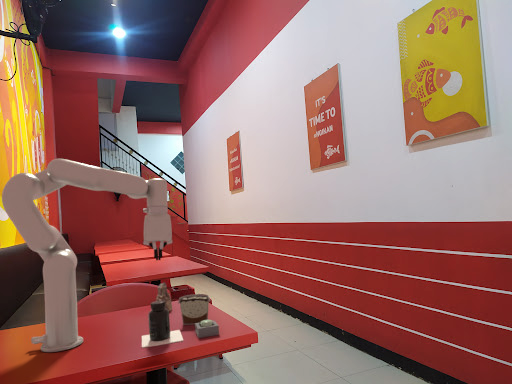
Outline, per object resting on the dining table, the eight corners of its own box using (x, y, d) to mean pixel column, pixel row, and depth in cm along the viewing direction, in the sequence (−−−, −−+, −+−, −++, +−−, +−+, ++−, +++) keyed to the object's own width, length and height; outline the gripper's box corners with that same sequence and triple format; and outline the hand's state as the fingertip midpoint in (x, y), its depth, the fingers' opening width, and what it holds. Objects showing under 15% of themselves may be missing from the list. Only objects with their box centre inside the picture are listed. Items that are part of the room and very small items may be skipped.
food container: (214, 318, 142) (213, 293, 142) (211, 323, 136) (209, 296, 136) (184, 320, 143) (182, 294, 144) (179, 324, 137) (177, 298, 137)
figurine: (152, 312, 158) (151, 285, 159) (160, 308, 165) (159, 281, 166) (167, 312, 156) (166, 284, 157) (174, 308, 163) (173, 281, 164)
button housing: (198, 338, 120) (198, 328, 120) (195, 331, 127) (195, 323, 127) (219, 334, 122) (218, 325, 122) (215, 328, 129) (214, 320, 129)
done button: (202, 332, 122) (201, 323, 122) (200, 329, 126) (199, 320, 126) (213, 330, 123) (213, 322, 123) (211, 327, 127) (211, 319, 127)
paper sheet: (141, 347, 114) (141, 347, 114) (141, 336, 125) (141, 335, 125) (183, 341, 118) (183, 340, 118) (179, 330, 129) (179, 329, 129)
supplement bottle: (161, 333, 126) (159, 298, 127) (174, 336, 122) (172, 300, 123) (145, 340, 121) (143, 303, 121) (158, 342, 117) (156, 305, 118)
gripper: (136, 211, 131) (137, 262, 130) (178, 210, 135) (179, 259, 134) (137, 212, 139) (137, 260, 137) (176, 211, 143) (177, 257, 141)
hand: (158, 259), depth 136 cm, fingers closed
